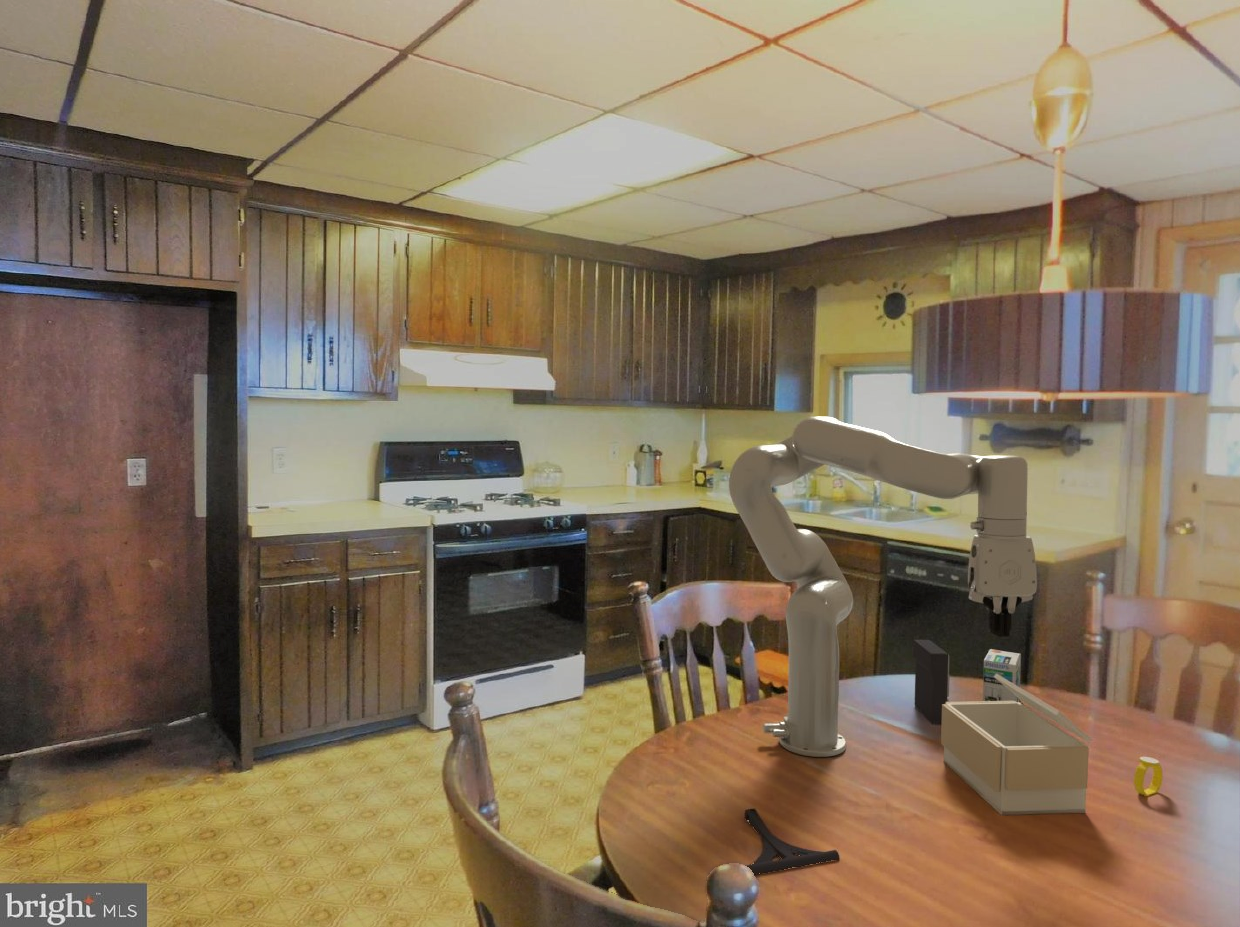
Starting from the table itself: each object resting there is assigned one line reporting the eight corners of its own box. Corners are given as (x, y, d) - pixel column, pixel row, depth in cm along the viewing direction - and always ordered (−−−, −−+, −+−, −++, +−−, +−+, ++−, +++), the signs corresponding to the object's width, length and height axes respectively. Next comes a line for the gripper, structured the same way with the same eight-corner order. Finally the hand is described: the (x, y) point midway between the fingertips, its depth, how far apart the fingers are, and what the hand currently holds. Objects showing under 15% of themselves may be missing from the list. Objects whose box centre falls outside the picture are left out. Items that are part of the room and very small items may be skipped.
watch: (1148, 788, 139) (1151, 754, 139) (1165, 795, 137) (1168, 760, 137) (1128, 793, 136) (1131, 758, 136) (1145, 800, 134) (1148, 764, 134)
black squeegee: (788, 815, 130) (788, 798, 130) (839, 864, 116) (839, 845, 115) (706, 829, 126) (706, 812, 125) (748, 882, 111) (749, 862, 111)
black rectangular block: (950, 725, 167) (952, 653, 166) (929, 724, 167) (931, 653, 166) (931, 706, 178) (932, 639, 177) (911, 705, 178) (913, 639, 177)
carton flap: (1056, 715, 129) (1059, 711, 129) (993, 676, 148) (996, 673, 148) (1089, 743, 130) (1092, 739, 130) (1022, 701, 149) (1025, 698, 149)
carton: (999, 817, 128) (1001, 750, 127) (937, 760, 150) (939, 702, 149) (1088, 815, 129) (1091, 748, 128) (1014, 758, 150) (1016, 700, 150)
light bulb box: (1015, 714, 173) (1017, 665, 172) (981, 708, 177) (982, 660, 176) (1020, 699, 182) (1021, 652, 182) (987, 694, 186) (989, 648, 185)
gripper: (969, 531, 132) (968, 641, 133) (1057, 530, 133) (1055, 639, 134) (948, 525, 140) (947, 630, 141) (1031, 524, 141) (1029, 628, 142)
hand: (999, 634), depth 137 cm, fingers closed
